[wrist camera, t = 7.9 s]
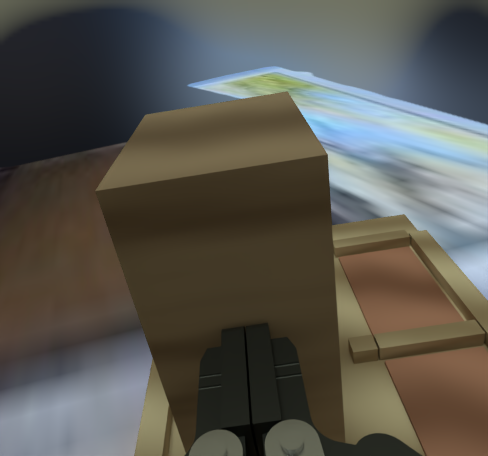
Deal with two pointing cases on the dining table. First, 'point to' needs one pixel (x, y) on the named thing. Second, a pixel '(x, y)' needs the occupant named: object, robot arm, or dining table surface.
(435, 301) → the tray
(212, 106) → the walnut block
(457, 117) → the dining table surface
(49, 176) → the dining table surface
